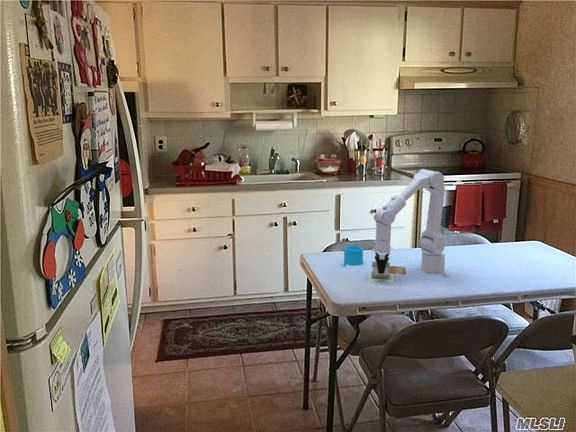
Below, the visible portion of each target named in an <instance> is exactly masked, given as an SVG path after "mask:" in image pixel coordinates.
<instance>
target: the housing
mask: <svg viewBox="0 0 576 432" xmlns="http://www.w3.org/2000/svg"><path fill="white" fill-rule="evenodd" d="M390 266H391V262H389V261H388V262H387V264H386V268H385V272H384V274H379V273H378V267H377V262H376V261H371V268H372V270H371V273H372V276H371V277H381V278H389V274H390V273H389V272H388V268H390Z"/></svg>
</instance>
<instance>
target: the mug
mask: <svg viewBox="0 0 576 432" xmlns="http://www.w3.org/2000/svg"><path fill="white" fill-rule="evenodd" d="M343 252H344V253H343V266H345V268H346V267H347V265H348V266H361V265H363V263H364V262H363V261H364V247H363V246H360V245H346V246H344V251H343Z"/></svg>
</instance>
